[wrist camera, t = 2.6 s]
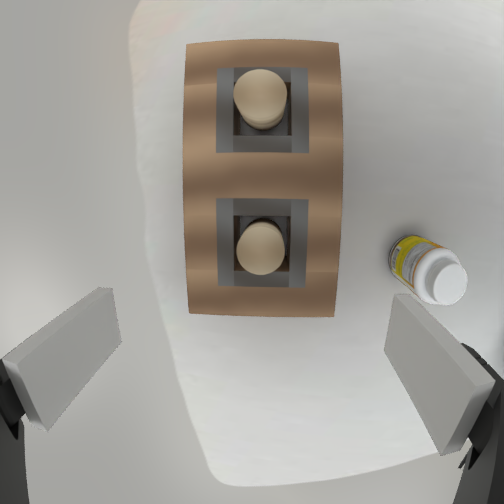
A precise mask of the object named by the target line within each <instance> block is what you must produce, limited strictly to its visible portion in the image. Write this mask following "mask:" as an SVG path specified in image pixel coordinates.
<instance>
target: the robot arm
mask: <svg viewBox="0 0 504 504" xmlns="http://www.w3.org/2000/svg"><path fill="white" fill-rule="evenodd" d="M121 342H122V341H121V336H120V331H119V326H118V320H117V314H116V308H115V302H114V296H113V289H112V288H101V287H99V288H97V289H95V290H94V291H92V292H91V293H90V294H88V295H87V296H85V297H84V298H83V299H81V300H80V301H78V302H77V303H76V304H74V305H73V306H71V307H70V308H69V309H67V310H66V311H64V312H63V313H62V314H60V315H59V316H57V317H56V318H55V319H53V320H52V321H51V322H49V323H48V324H47V325H45V326H44V327H42V328H41V329H40V330H39V331H37V332H36V333H34V334H33V335H31V336H30V337H29V338H27V339H26V340H25V341H24V342H23V343H21V344H20V345H18V346H17V347H16V348H15V349H13V350H12V351H11V352H9V353H8V354H7V355H5V356H4V357H3V358H2V359H0V504H29V498H28V489H27V480H26V467H25V447H24V425H23V422H22V420H21V417H22V416H23V415H24V414H25V413H26V415H27V417H28V419H29V421H30V423H31V425H32V426H34V427H36V428H38V429H41V430H43V431H45V432H48V431H49V430H50V428H51V427H52V426H53V425H54V423H55V422H56V421H57V420H58V418H59V417H60V416H61V415H62V413H63V412H64V411H65V410H66V408H67V407H68V406H69V405H70V403H71V402H72V401H73V400H74V399H75V397H76V396H77V395H78V394H79V392H80V391H81V390H82V389H83V387H84V386H85V385H86V384H87V383H88V382H89V380H90V379H91V378H92V377H93V376H94V374H95V373H96V372H97V371H98V369H99V368H100V367H101V366H102V365H103V364H104V362H105V361H106V360H107V359H108V357H109V356H110V355H111V354H112V353H113V352H114V351H115V349H116V348H117V347H118V346H119V345H120V343H121ZM384 352H385V353H386V355H387V357H388V359H389V360H390V362H391V364H392V366H393V367H394V369H395V371H396V373H397V374H398V376H399V378H400V380H401V382H402V383H403V385H404V387H405V389H406V391H407V392H408V394H409V396H410V398H411V400H412V402H413V403H414V405H415V407H416V409H417V411H418V413H419V415H420V417H421V418H422V420H423V422H424V424H425V426H426V428H427V430H428V432H429V434H430V436H431V438H432V440H433V442H434V444H435V446H436V448H437V450H438V452H439V454H440V456H443V455H446V454H450V453H452V452H456V451H459V450H461V448H462V446H463V445H464V443H465V441H466V439H467V438H469V439H470V441H471V442H472V446H471V448H470V449H469V451H468V452H467V454H466V456H465V457H464V459H463V460H462V462H461V463H460V465H459V467H458V468H462V466H463V465H464V463H465V466H464V470H463V473H462V477H461V480H460V483H459V487H458V490H457V493H456V496H455V499H454V502H453V504H504V380H503V379H502V378H501V377H500V376H499V375H498V374H497V373H496V371H495V370H494V369H493V368H492V367H491V366H490V365H489V364H488V365H487V362H486V361H485V360H484V359H483V358H481V356H480V355H479V354H478V353H477V352H476V351H475V350H474V349H473V348H471V347H469V346H467V345H465V344H464V343H459V342H458V341H457V340H456V339H455V337H454V336H453V335H452V334H451V333H450V332H449V331H448V330H447V329H446V328H445V327H443V326H442V325H441V324H440V323H439V322H438V321H437V320H436V319H435V318H434V317H433V316H432V315H431V314H430V313H429V312H428V311H427V310H426V309H425V308H424V307H423V306H422V305H421V304H420V303H419V302H418V301H417V300H415V299H414V298H413V297H412V296H411V295H410V294H394V298H393V304H392V310H391V316H390V321H389V327H388V332H387V337H386V342H385V347H384Z"/></svg>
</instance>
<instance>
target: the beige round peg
mask: <svg viewBox="0 0 504 504" xmlns="http://www.w3.org/2000/svg"><path fill="white" fill-rule="evenodd" d="M233 97H234V101H235V103H236V105H237V107H238V109H239V111H240V113H241V115H242V117H243V119H244V121H245V122H246V123H247V124H248V125H249V126H250V127H252V128H254V129H256V130H269V129H272V128H274V127H276V126H277V125H278V124H279V123H280V122H281V120H282V118H283V115H284V110H285V104H286V98H287V89H286V85H285V83H284V81H283V80H282V79H281V78H280V77H279V76H278V75H277V74H275V73H274V72H271V71H269V70H264V69H256V70H252V71H249V72H247V73H245V74H244V75H242V76H241V77H240V78H239V79H238V81H237V82H236V84H235V86H234V90H233Z"/></svg>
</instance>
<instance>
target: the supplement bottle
mask: <svg viewBox="0 0 504 504" xmlns="http://www.w3.org/2000/svg"><path fill="white" fill-rule="evenodd" d="M389 265H390V269H391V271H392V273H393V274H394V276H395V277H396V278H397V279H398V280H400V281H401V282H402V283H403V284H404V285H405V286H407V287H408V288H409V289H410V290H411V291H412V292H413V293H415V294H416V295H417V296H418V297H419V298H420V299H421V300H423V301H424V302H426V303H428V304H441V305H444V306H448V305H452V304H454V303H456V302H457V301H458V300H459V299H460V298H461V297H462V296H463V294H464V292H465V290H466V287H467V282H468V278H467V273H466V271H465V269H464V268H463V267H462V266H461V264H460V261H459V259H458V257H457V256H456V255H455V254H454V253H453V252H452V251H450V250H449V249H446V248H444V247H442V246H440V245H437V244H436V243H433V242H431V241H428V240H426V239H424V238H422V237H419V236H416V235H408V236H405V237H403V238H401V239H399V240H398V241H397V242H396V243H395V245H394V246H393V248H392V250H391V252H390V256H389Z"/></svg>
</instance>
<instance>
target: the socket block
mask: <svg viewBox="0 0 504 504" xmlns="http://www.w3.org/2000/svg"><path fill="white" fill-rule="evenodd" d="M256 69H264V70H269V71H271V72H274V73H275V74H277V75H278V76H279V77H280V78H281V79H282V80H283V81H284V83H285V85H286V89H287V98H286V99H288V136H282V135H240V111H239V109H238V107H237V105H236V103H235V101H234V97H233V90H234V86H235V84H236V82H237V81H238V79H239V78H240V77H241V76H242V75H244V74H245V73H247V72H249V71H252V70H256ZM342 192H343V115H342V89H341V71H340V56H339V44H338V43H333V42H322V41H308V40H285V39H250V40H227V41H213V42H202V43H193V44H187V45H186V61H185V81H184V108H183V210H184V239H185V260H186V278H187V293H188V306H189V313H191V314H210V315H232V316H265V317H334V311H335V301H336V291H337V280H338V268H339V254H340V239H341V219H342ZM240 216H287V255H284V259H283V261H282V263H281V265H280V266H279V267H278V268H277V269H276V270H275V271H273V272H271V273H269V274H265V275H257V274H253V273H250V272H248V271H247V270H246V269H244V268H243V267H242V266H241V264H240V262H239V260H238V258H237V245H238V242H239V240H240Z"/></svg>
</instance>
